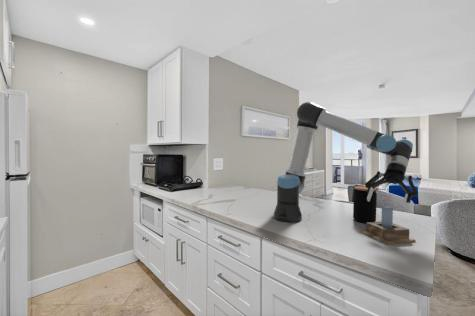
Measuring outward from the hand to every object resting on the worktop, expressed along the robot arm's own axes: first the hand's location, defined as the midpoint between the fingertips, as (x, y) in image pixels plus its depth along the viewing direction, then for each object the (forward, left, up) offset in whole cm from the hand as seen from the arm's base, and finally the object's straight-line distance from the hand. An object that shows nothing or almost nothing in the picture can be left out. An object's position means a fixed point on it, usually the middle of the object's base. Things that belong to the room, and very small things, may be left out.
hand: (384, 204), depth 99 cm
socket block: (+2, -1, -14) cm, 14 cm away
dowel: (+2, -1, -13) cm, 13 cm away
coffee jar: (-19, +7, -14) cm, 24 cm away
